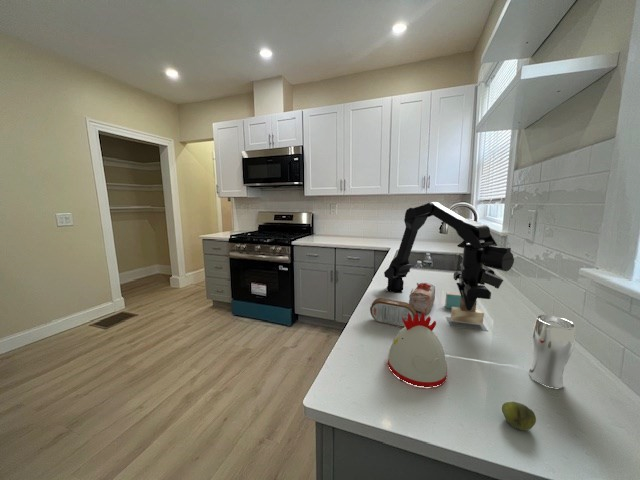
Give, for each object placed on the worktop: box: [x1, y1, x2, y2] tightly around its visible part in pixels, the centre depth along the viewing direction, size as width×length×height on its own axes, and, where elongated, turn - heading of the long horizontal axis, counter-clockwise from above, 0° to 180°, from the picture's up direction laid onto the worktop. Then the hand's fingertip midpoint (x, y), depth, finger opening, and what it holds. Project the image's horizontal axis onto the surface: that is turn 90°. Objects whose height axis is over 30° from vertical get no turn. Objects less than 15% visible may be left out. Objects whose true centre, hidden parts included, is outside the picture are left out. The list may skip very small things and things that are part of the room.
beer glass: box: [528, 314, 577, 389], centre depth 57 cm, size 7×7×15 cm
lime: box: [501, 401, 537, 431], centre depth 46 cm, size 4×5×5 cm
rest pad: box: [445, 316, 489, 332], centre depth 84 cm, size 11×7×1 cm, turn 74°
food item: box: [408, 282, 436, 315], centre depth 96 cm, size 14×8×10 cm, turn 148°
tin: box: [369, 297, 417, 328], centre depth 84 cm, size 15×3×8 cm, turn 65°
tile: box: [444, 292, 461, 309], centre depth 95 cm, size 8×2×6 cm, turn 74°
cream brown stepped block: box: [450, 297, 485, 325], centre depth 83 cm, size 9×2×8 cm, turn 74°
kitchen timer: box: [387, 311, 448, 387], centre depth 62 cm, size 14×14×15 cm
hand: (467, 308), depth 83 cm, fingers closed on cream brown stepped block, 2 cm apart
